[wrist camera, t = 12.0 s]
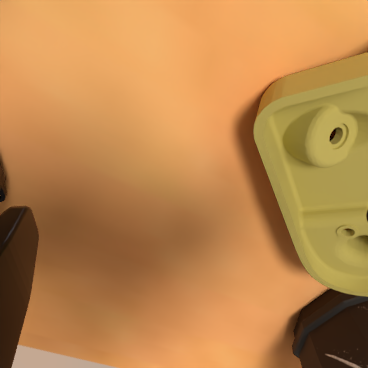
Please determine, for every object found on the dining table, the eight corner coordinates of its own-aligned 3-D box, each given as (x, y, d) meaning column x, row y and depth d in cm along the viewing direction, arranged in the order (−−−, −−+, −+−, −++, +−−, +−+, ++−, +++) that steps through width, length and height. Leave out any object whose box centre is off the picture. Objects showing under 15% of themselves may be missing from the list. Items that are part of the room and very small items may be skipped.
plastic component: (242, 107, 19) (462, 50, 14) (258, 56, 24) (424, 1, 19) (312, 294, 30) (451, 299, 25) (313, 232, 35) (429, 225, 30)
